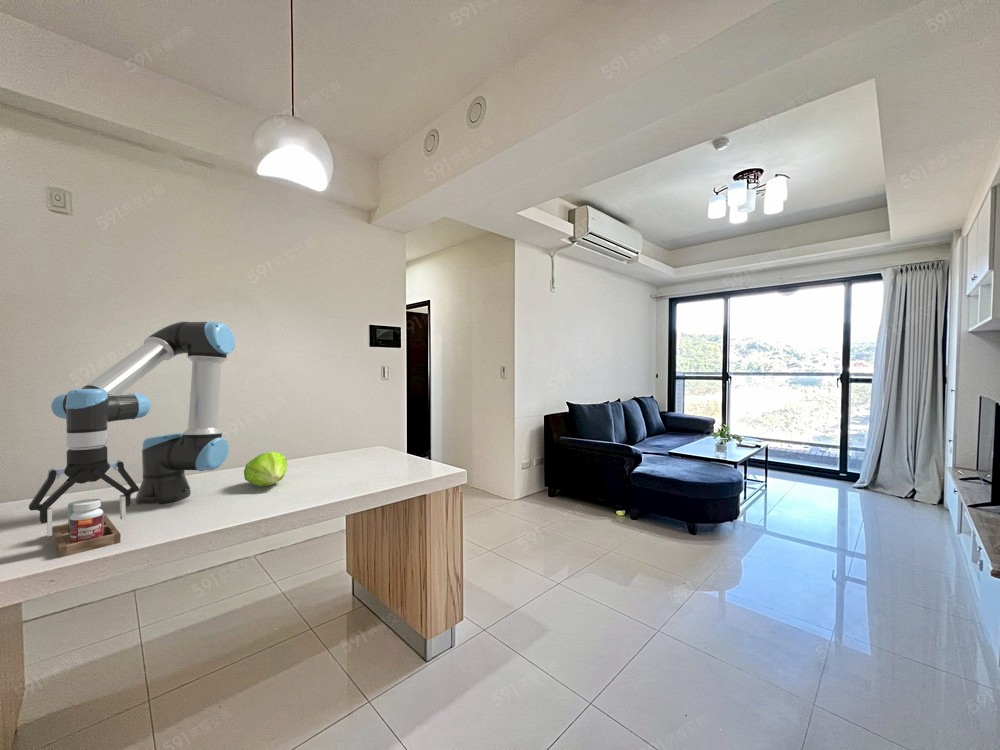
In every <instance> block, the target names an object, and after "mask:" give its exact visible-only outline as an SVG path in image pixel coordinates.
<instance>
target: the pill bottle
mask: <svg viewBox="0 0 1000 750" xmlns="http://www.w3.org/2000/svg"><path fill="white" fill-rule="evenodd" d="M81 500H82V501H79V500H77V501H78V502H76V503H74V504H73V511H76V512H74V513H73V514H72V515H71V517H70V544H72V543H77V542H81V541H85V540H90V539H94V538H98V537H102V536H103V522H104V517H103V516H104V510H103V509H102V508H100V507H102V502H101V501H102V500H101V499H100V498H88V500H85V499H81Z"/></svg>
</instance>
